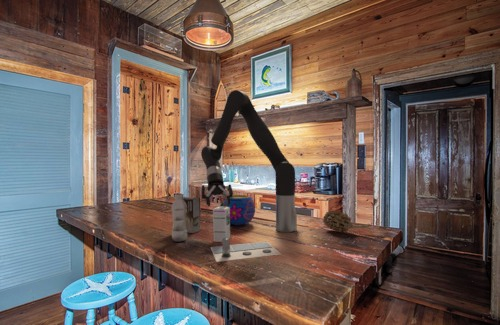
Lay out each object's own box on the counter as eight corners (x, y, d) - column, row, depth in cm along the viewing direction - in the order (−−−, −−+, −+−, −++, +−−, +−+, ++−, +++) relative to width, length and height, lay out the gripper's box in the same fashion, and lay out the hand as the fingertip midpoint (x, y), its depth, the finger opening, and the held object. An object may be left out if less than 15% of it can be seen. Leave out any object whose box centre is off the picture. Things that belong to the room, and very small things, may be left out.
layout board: (266, 243, 106) (266, 240, 106) (281, 256, 92) (281, 253, 92) (210, 249, 99) (210, 246, 99) (216, 264, 85) (216, 261, 85)
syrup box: (226, 244, 105) (226, 209, 105) (213, 243, 107) (212, 208, 107) (230, 240, 111) (230, 206, 111) (217, 239, 112) (217, 206, 112)
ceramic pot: (236, 219, 151) (235, 193, 151) (261, 223, 141) (261, 195, 140) (215, 225, 137) (215, 197, 137) (242, 230, 126) (241, 199, 126)
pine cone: (319, 231, 123) (319, 210, 123) (326, 227, 131) (326, 207, 131) (370, 239, 111) (369, 216, 111) (374, 234, 119) (374, 212, 118)
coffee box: (201, 230, 128) (200, 197, 128) (193, 233, 122) (193, 199, 122) (185, 228, 131) (185, 196, 131) (177, 231, 125) (177, 198, 125)
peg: (229, 254, 92) (229, 237, 92) (230, 257, 89) (230, 239, 89) (221, 255, 91) (221, 238, 91) (223, 257, 88) (223, 240, 88)
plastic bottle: (190, 239, 113) (190, 193, 113) (181, 244, 106) (181, 195, 106) (177, 238, 115) (177, 192, 115) (168, 242, 109) (167, 194, 108)
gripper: (200, 172, 122) (203, 200, 111) (230, 171, 126) (235, 198, 115) (199, 182, 127) (202, 210, 116) (228, 181, 131) (233, 208, 120)
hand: (218, 204), depth 115 cm, fingers open, 8 cm apart
